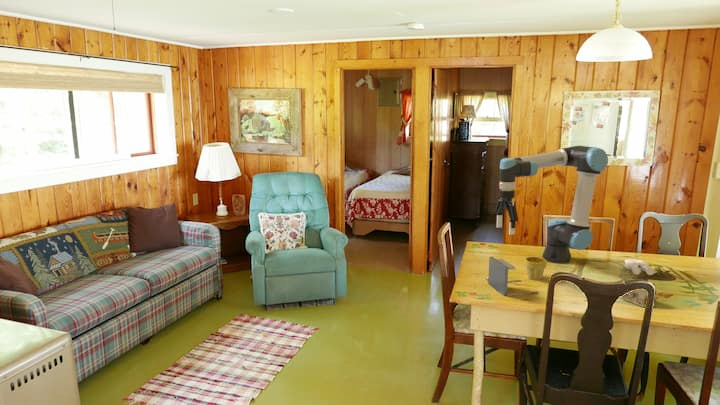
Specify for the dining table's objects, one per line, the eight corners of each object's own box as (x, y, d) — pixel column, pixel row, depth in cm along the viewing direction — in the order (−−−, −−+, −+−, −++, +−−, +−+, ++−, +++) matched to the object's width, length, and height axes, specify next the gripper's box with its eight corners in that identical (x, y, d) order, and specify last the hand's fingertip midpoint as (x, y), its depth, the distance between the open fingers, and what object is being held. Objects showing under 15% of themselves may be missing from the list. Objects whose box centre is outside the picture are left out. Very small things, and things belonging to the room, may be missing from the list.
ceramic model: (662, 303, 220) (664, 282, 218) (650, 310, 213) (652, 288, 211) (629, 294, 231) (631, 273, 229) (617, 300, 224) (619, 279, 222)
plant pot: (547, 282, 247) (548, 263, 245) (525, 280, 249) (526, 262, 247) (543, 275, 257) (544, 256, 255) (522, 273, 259) (523, 255, 257)
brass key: (495, 275, 256) (496, 274, 256) (500, 277, 254) (500, 275, 253) (484, 279, 252) (484, 277, 252) (489, 281, 249) (489, 279, 249)
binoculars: (632, 275, 256) (633, 266, 255) (621, 264, 271) (622, 256, 270) (654, 275, 254) (655, 267, 253) (642, 265, 270) (643, 257, 269)
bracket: (519, 280, 250) (521, 253, 247) (538, 293, 233) (540, 264, 230) (487, 283, 246) (488, 256, 243) (504, 296, 230) (506, 267, 227)
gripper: (489, 185, 259) (487, 225, 263) (512, 194, 235) (510, 237, 239) (502, 185, 260) (501, 224, 265) (526, 193, 236) (524, 236, 241)
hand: (505, 230), depth 252 cm, fingers open, 13 cm apart
